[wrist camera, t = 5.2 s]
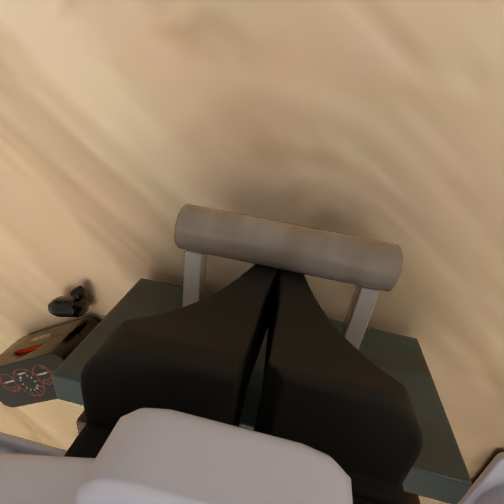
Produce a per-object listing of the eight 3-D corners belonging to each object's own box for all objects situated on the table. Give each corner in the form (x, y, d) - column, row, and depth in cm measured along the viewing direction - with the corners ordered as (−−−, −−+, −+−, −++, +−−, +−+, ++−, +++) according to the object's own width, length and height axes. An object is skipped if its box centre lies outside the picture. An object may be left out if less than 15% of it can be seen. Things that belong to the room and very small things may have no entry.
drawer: (137, 163, 13) (14, 214, 8) (472, 224, 12) (595, 335, 7) (146, 452, 23) (92, 566, 17) (336, 505, 21) (342, 646, 16)
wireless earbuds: (133, 344, 19) (101, 389, 16) (48, 366, 22) (7, 408, 19) (87, 279, 18) (42, 316, 15) (1, 310, 20) (-52, 347, 17)
